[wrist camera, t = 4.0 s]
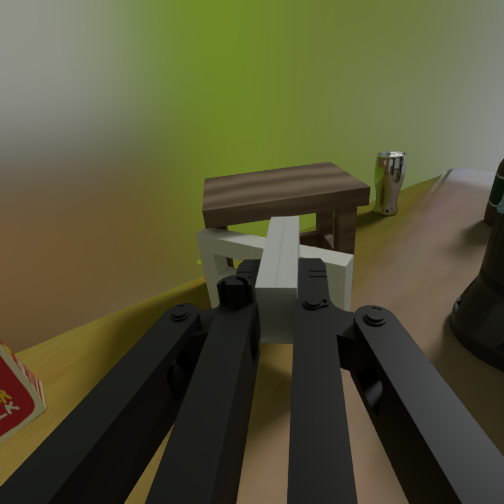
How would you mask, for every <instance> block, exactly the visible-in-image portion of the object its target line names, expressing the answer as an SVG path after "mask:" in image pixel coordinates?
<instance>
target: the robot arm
mask: <svg viewBox="0 0 504 504" xmlns="http://www.w3.org/2000/svg"><path fill="white" fill-rule="evenodd" d="M497 211H498V212H497V216H496V219H495V222H494V226H493V229H492V232H491V236H490V239H489V242H488V245H487V249H486V252H485V255H484V259H483V262H482V266H481V269H480V272H479V274H478V276H477V277H476V278H475V279H474V280H473V281H472V283H471V284H470V285H469V286H468V287H467V288H466V289H465V291H464V292H463V293H462V295H460V296H459V297H458V299H457V300H456V301H455V303H454V306H453V309H452V313H451V316H450V324H451V328H452V330H453V332H454V334H455V335H456V337H457V338H458V339H459V341H460V342H461V343H462V344H463V345H464V346H465V347H466V348H467V349H469V350H470V351H471V352H472V353H474V354H475V355H476V356H478V357H479V358H481V359H482V360H484V361H486V362H487V363H489V364H491V365H493V366H495V367H497V368H499V369H501V370H504V195H503V197H502V200H501V202H500V203H499V204H498V206H497ZM216 285H217V291H218V296H219V301H220V303H219V306H218V307H215V308H212V309H209V310H204V311H199V310H198V308H197V307H196V306H195V305H193V304H191V303H183V304H178V305H175V306H173V307H171V308H170V309H169V310H167V311H166V312H165V313H164V314H163V315H162V316H161V317H160V319H159V320H158V321H157V322H156V323H155V324H154V325H153V326H152V327H151V328H150V329H149V330H148V331H147V332H146V333H145V334H144V335H143V336H142V338H141V339H140V340H139V341H138V342H137V343H136V344H135V345H134V346H133V347H132V348H131V349H130V350H129V351H128V352H127V353H126V354H125V356H124V357H123V358H122V359H121V360H120V361H119V362H118V363H117V364H116V365H115V366H114V367H113V368H112V369H111V370H110V371H109V372H108V374H107V375H106V376H105V377H104V378H103V379H102V380H101V381H100V382H99V383H98V384H97V385H96V386H95V387H94V388H93V389H92V390H91V392H90V393H89V394H88V395H87V396H86V397H85V398H84V399H83V400H82V401H81V402H80V403H79V404H78V405H77V406H76V407H75V408H74V410H73V411H72V412H71V413H70V414H69V415H68V416H67V417H66V418H65V419H64V420H63V421H62V422H61V423H60V424H59V425H58V426H57V427H56V429H55V430H54V431H53V432H52V433H51V434H50V435H49V436H48V437H47V438H46V439H45V440H44V441H43V442H42V443H41V444H40V445H39V447H38V448H37V449H36V450H35V451H34V452H33V453H32V454H31V455H30V456H29V457H28V458H27V459H26V460H25V461H24V462H23V463H22V465H21V466H20V467H19V468H18V469H17V470H16V471H15V472H14V473H13V474H12V475H11V476H10V477H9V478H8V479H7V480H6V481H5V483H4V484H3V485H2V486H1V487H0V504H124V502H125V501H126V499H127V498H128V496H129V494H130V493H131V491H132V490H133V488H134V486H135V485H136V483H137V482H138V480H139V478H140V477H141V475H142V474H143V472H144V470H145V469H146V467H147V465H148V464H149V462H150V461H151V459H152V457H153V456H154V454H155V453H156V451H157V449H158V448H159V446H160V445H161V443H162V441H163V440H164V438H165V437H166V435H167V433H168V432H169V430H170V429H171V427H172V425H173V424H174V422H175V424H174V427H173V429H172V432H171V435H170V437H169V440H168V443H167V445H166V448H165V451H164V453H163V456H162V459H161V461H160V464H159V467H158V470H157V472H156V475H155V478H154V480H153V483H152V486H151V488H150V491H149V494H148V496H147V499H146V502H145V504H236V502H237V495H238V489H239V483H240V476H241V470H242V463H243V457H244V451H245V444H246V438H247V431H248V425H249V418H250V412H251V406H252V399H253V393H254V386H255V380H256V373H257V367H258V361H259V354H260V351H259V338H261V343H283V344H293V368H292V392H291V417H290V442H289V467H288V492H287V504H358V503H357V495H356V487H355V479H354V472H353V464H352V456H351V448H350V440H349V432H348V424H347V416H346V408H345V400H344V392H343V384H342V377H341V369H340V368H342V369H345V370H348V371H350V374H351V377H352V379H353V381H354V384H355V386H356V388H357V390H358V392H359V395H360V397H361V399H362V401H363V403H364V405H365V408H366V410H367V412H368V414H369V416H370V419H371V421H372V423H373V425H374V427H375V430H376V432H377V434H378V436H379V438H380V441H381V443H382V445H383V447H384V449H385V452H386V454H387V456H388V458H389V460H390V463H391V465H392V467H393V469H394V471H395V474H396V476H397V478H398V480H399V482H400V485H401V487H402V489H403V491H404V493H405V496H406V498H407V500H408V502H409V504H504V457H503V455H502V454H501V453H500V452H499V450H498V449H497V448H496V446H495V445H494V444H493V442H492V441H491V440H490V439H489V437H488V436H487V435H486V433H485V432H484V431H483V429H482V428H481V427H480V426H479V424H478V423H477V422H476V420H475V419H474V418H473V416H472V415H471V414H470V413H469V411H468V410H467V409H466V407H465V406H464V405H463V403H462V402H461V401H460V400H459V398H458V397H457V396H456V394H455V393H454V392H453V390H452V389H451V388H450V387H449V385H448V384H447V383H446V381H445V380H444V379H443V378H442V376H441V375H440V374H439V372H438V371H437V370H436V368H435V367H434V366H433V365H432V363H431V362H430V361H429V359H428V358H427V357H426V355H425V354H424V353H423V352H422V350H421V349H420V348H419V346H418V345H417V344H416V342H415V341H414V340H413V339H412V337H411V336H410V335H409V333H408V332H407V331H406V329H405V328H404V327H403V326H402V324H401V323H400V322H399V320H398V319H397V318H396V316H395V315H394V314H393V313H392V312H390V311H389V310H387V309H385V308H383V307H379V306H375V305H366V306H363V307H360V308H359V309H357V310H356V311H355V313H353V312H348V311H345V310H342V309H340V308H338V307H336V306H335V305H334V304H333V303H332V302H331V300H330V296H329V288H328V280H327V272H326V264H325V263H324V262H323V261H322V259H321V258H300V242H299V216H287V217H271V220H270V224H269V229H268V233H267V237H266V242H265V246H264V250H263V254H262V259H245V260H244V261H243V262H242V263H241V264H240V265H239V266H238V269H237V273H236V275H230V276H227V277H224V278H223V279H221V280H220V281H219V282H218V283H217V284H216Z"/></svg>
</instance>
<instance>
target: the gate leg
mask: <svg viewBox="0 0 504 504" xmlns="http://www.w3.org/2000/svg"><path fill="white" fill-rule="evenodd" d="M196 238H197V243H198V247H199V252H200V257H201V261H202V266H203V270H204V275H205V279H206V284H207V288H208V293H209V298H210V302H211V307H212V308H215V307H218V306H219V303H220V301H219V296H218V291H217V285H216V284H217V283H218V282H219V281H220V280H221V279H223V278H224V277H227V276H230V275H236V273H237V269H236V268H232V267H228V265H227V259H226V257H229V258H233V259H237V260H240V261H244V260H245V259H262V254H263V250H264V246H265V242H266V238H264V237H259V236H254V235H248V234H243V233H238V232H233V231H228V230H223V229H218V228H208V229H206V228H204V229H203V230H201V231H199V232H198V233H196ZM300 258H321V259H322V261H323V262H324V263H325V264H326V272H327V280H328V288H329V296H330V300H331V302H332V303H333V304H334V305H335V306H336V307H338V308H340V309H342V310H345V311H348V312H350V306H351V291H352V275H353V260H354V255H352V254H346V253H341V252H336V251H331V250H326V249H321V248H315V247H310V246H305V245H300ZM340 369H341V372H342V370H343V369H342V368H340Z"/></svg>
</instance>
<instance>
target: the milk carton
mask: <svg viewBox="0 0 504 504" xmlns="http://www.w3.org/2000/svg"><path fill="white" fill-rule="evenodd" d="M45 410H46V404H45V398H44V393H43V387H42V383H41V382H40V381H39V380H38V379H37V378H36V377H35V376H34V375H33V374H32V373H31V372H30V371H29V370H28V369H27V367H26V366H25V365H24V364H23V363H22V362H21V361H20V360H19V359H18V358H17V357H16V356H15V355H14V354H13V353H12V352H11V351H10V350H9V349H8V348H7V347H6V346H5V345H4V343H2V341H1V340H0V444H1V443H2V442H3V441H5V440H6V439H8V438H9V437H10V436H12V435H13V434H15V433H16V432H17V431H19V430H20V429H21V428H23V427H24V426H25V425H27V424H28V423H29V422H31V421H32V420H33V419H35V418H36V417H37V416H39V415H40V414H41V413H43V412H44V411H45Z"/></svg>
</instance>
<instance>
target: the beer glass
mask: <svg viewBox="0 0 504 504" xmlns="http://www.w3.org/2000/svg"><path fill="white" fill-rule="evenodd" d="M405 167H406V153H405V152H402V151H384V152H380V153H378V154H377V158H376V164H375V172H374V179H375V181H374V182H375V193H376V199H375V204H374V207H373V212H374V213H375V214H377V215H381V216H391V215H395V214H397V212H398V206H397V200H398V195H399V192H400V189H401V186H402V183H403V179H404V175H405Z"/></svg>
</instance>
